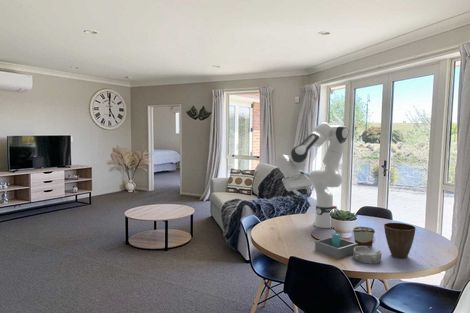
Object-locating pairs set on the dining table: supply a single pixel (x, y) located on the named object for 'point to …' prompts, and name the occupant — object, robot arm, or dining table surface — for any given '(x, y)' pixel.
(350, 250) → the shallow grey tray
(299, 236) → the dining table surface
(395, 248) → the plant pot
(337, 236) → the teal upright cylinder
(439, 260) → the dining table surface
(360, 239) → the food container
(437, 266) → the dining table surface
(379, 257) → the dish
